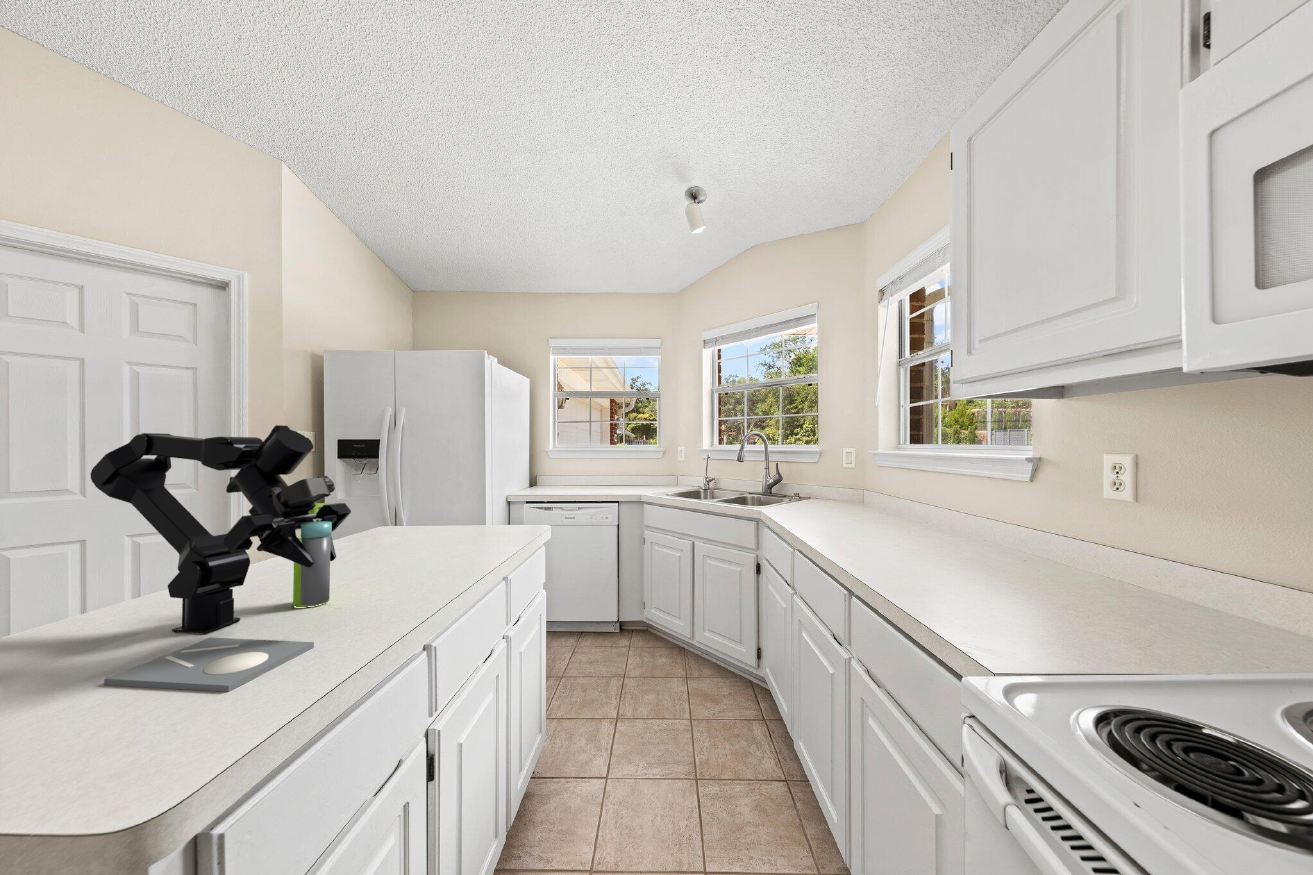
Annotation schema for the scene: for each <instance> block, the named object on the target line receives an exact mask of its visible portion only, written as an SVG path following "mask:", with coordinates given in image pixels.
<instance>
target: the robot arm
mask: <svg viewBox="0 0 1313 875" xmlns="http://www.w3.org/2000/svg"><path fill="white" fill-rule="evenodd" d="M313 449H314V444H313V442H312V441H311V439H310V438H309V437H306V436H305V435H304V434H302V433H300V432H298V431H296V430H293V429H291V428H290V427H289V426H288V425H282V424H281V425H280V424H278V425H277V424H276V425H275V426H274V427H272V429H271V431H270V433H269V435H267V437H266V438H265V439H264V440H263V439H261V438H260V437H252V436H250V437H249V436H213V437H206V438H201V437H191V436H190V437H189V436H181V435H173V434H170V433H157V432H156V433H154V432H153V433H152V432H150V433H149V432H144V433H143V432H142V433H140V434H136V435H135V436H133V438H132V439H130V441H129V442H128V443H126V444H124V445H121V446H119V447H118V448H115V449H113V450H111V451H109V452H108V453H106V454H104V456H102V458H100V460H99V461H98V462H97V463H96V464H95V465H94V466H93V468H92V469H91V471H90V479H91V483H93V485H94V487H95V488H97V490H99V491H101V492H102V493H103V494H105V495H106V496H107V497H109V498H110V499H115V500H119V501H121V502H125V503H128V504H131V506H133V507H134V508H135V509H136V511H137V512H138V513H140V515H142V516H143V518H144V519H145V520H146V521H147V522H148V523H149V524H150V525H151V526H152V527H153V528H154V529H155V530H156V531H157V532H158V534H160V535H161V536H162V538H164V540H165V541H166V542H167V543H168V544H169V545H170V546H171V547H172V548H173V549H174V550H175V551H176V552H177V553H178V555H179V556H178V564H177V570H178V573H177V574H176V575H175V576H174V577H173V578H172V580H171V581H170V582H169V583H168V584H167V590H168V594H169V597H170V598H174V599H175V598H176V599H182V604H181V605H182V606H181V610H182V611H181V625H180V626H177V627H174V628H173V629H171V632H172V633H179V634H180V633H183V634H184V633H185V634H186V633H187V634H204V635H205V634H209V633H210V632H213V631H217V630H218V629H222V628H224V627H227V626H229V625H233V624H235V623H237V622H240V621H241V617H238V616H237V617H234V616H235V615H234V614H235V598H234V597H233V594H234V593H233V592H234V591H233V590H234V589H233V588H236V587H240V586H243V585H244V583H245V580H246V578H247V574H248V572H249V568H250V566H251V560H250V559H251V558H250V556H249V553H248V552H247V551H249V550H250V549H251V548H252V546H253V544H254V542H253V541H252V539H251V538H254V537H257V538H258V541H259V543H260V544H258V546H257V547H256V550H257V551H258V552H266V553H268V554H271V555H274V556H278V557H280V558H283V559H286V560H288V561H291V562H293V563H294V562H295V563H298V564H300V565H303V566H305V567H311V566H312V565H313V564H314V562H313V560H312V558H311V556H310V555H309V553H308V552H307V550H306V549H305V547H304V546H303V545H302V543H301V542H300V540H299V539H298V538H299V537H298V536H297V534H296V533H297V532H296V531H297V530H301V524H303V523H309V522H321V521H327V522H332V532H334V531H336V530H337V529H338V527H339V526H340V525H341V524H342V523H343V522H344V521H345V520H346V519H347V517H349V515H350V514H351V513H352V511H351V508H349V506H348V505H347V504H346V503H345V502H338V503H337V502H336V503H328V505H323V506H322V507H320V508H319V509H318V512H317V513H316V514H310V515H309V513H308V512H309V511H310V510H313V508H314V507H315V506H316V504H315V503H317V501H318V502H319V501H320V500H321V499H323V498H328V497H329V496H331V495H332V494H331V493H333V492H334V491H335V490H336V489H335V488H336V486H335V483H334V482H333V480H332V479H330V477H328V475H319V476H317V477H312V478H303V479H300V480H298V481H296V482H294V483H291V484H290V485H288V483H287V482H286V481H285V479H284V478H283V477H282V476H285V475H291V474H293V473H294V471H295V470H296V469H297V468H298V467H299V466H300V465H301V463H302V462H303V461H304V460H305V459H306V457H307V456H308V455H309V454H310V453H311V452H312V450H313ZM144 456H155V458H152V457H151V458H149V457H145V458H144ZM171 458H174V459H183V460H192V461H198V462H200V463H201V465H202V466H203V467H207V468H210V469H212V470H215V471H235V470H238V472H237V473H236V474H235V475H234V476H230V477H229V482H228V484H227V485H226V490H225V492H226V493H227V494H233V493H241V494H242V495H243V496H244V497H245V498H246V500H247V501H248V502H249V504H250V505H251V507H250V509H249V510H248V513H249V515H242V516H240V518H239V519H238V520H237V522H236V523H235V524H234V525H233V526H232V527H231V529H229V531H228V532H227V533H225V534H224V533H223V534H217V535H213V534H212V533H210V531H208V529H206V528H205V527H204V525H202V524H201V522H199V521H198V520H197V519H196V517H195V516H193V515H192V513H190V511H189V510H187V509H186V507H185V506H184V505H182V503H181V502H180V501H179V500H178V499H177V498H176V497H175V496H174V495H173V494H172V493H171V492H170V491H169V490H168V489H167V488H166V486H165V484H166V480H167V473H168V472H169V471H170V469H171V468H172V461H171V460H172V459H171ZM281 475H282V476H281ZM336 558H337V553H336V549H335V544H334V542H333V537H332V535H331V547H330V562H333V561H335V559H336Z"/></svg>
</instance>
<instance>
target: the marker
mask: <svg viewBox="0 0 1313 875" xmlns="http://www.w3.org/2000/svg"><path fill="white" fill-rule="evenodd" d="M331 536H332V522H327V521H321V522H309V523H303V524H301V529H300V538H301V537H302V538H301V543H302V545H303V546H304V547H305V549H306V550H307V552H308V553H309V555H310V556H311V558H312V560H313V562H314V564H313V565H312V566H311V567H305V566H303V565H301V582H300V605H303V606H311V605H318V604H322V603H325V602H328V601H330V587H331V583H330V582H331V581H330V580H331V561H330V547H331ZM328 603H329V602H328Z"/></svg>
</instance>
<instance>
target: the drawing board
mask: <svg viewBox="0 0 1313 875" xmlns="http://www.w3.org/2000/svg"><path fill="white" fill-rule="evenodd" d="M313 648H315V642H314V641H299V640H298V641H296V640H276V639H275V640H274V639H273V640H272V639H252V638H251V639H250V638H234V637H233V638H229V637H211V636H210V637H207V638H205V639H202V640H199V641H197V642H195V643H192V644H189V645H186V646H184V647H182V648H179V649H177V650H174V651H170V652H169V653H166V654H164V655H161V656H158V657H157V658H154V659H151V660H148V661H146V662H143V663H140V664H138V665H136V666H133V667H131V668H128V669H125V670H123V671H120V672H118V673H115V674H113V675H110V676H107V677H105V678H103V685H104V686H120V687H136V688H137V687H139V688H140V687H141V688H154V689H155V688H156V689H157V688H158V689H169V690H170V689H173V690H175V689H176V690H188V691H189V690H191V691H209V692H226V693H228V692H231V691H233V690H235V689H237V688H239V687H240V686H243V685H245V684H246V683H249V682H250V681H252V680H254V679H256V678H258V677H259V676H262V675H263V674H266V673H267V672H270V671H271V670H273V669H275V668H277V667H279V666H281V665H283V664H285V663H287V662H288V661H291V660H293V659H294V658H297V657H298V656H300V655H302V654H304V653H306V652H308V651H309V650H312V649H313Z"/></svg>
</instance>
